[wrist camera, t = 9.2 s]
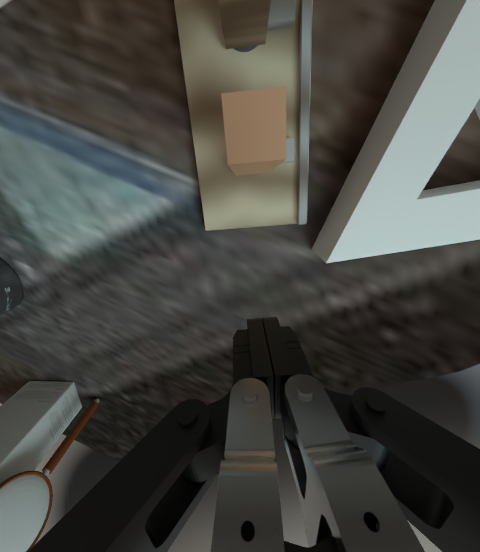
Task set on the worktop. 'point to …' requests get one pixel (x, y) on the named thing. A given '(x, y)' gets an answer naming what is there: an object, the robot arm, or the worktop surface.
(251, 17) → the fixed leg
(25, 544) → the magnifying glass
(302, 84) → the board
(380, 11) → the worktop surface
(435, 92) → the triangle block
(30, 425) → the skincare box
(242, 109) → the block
